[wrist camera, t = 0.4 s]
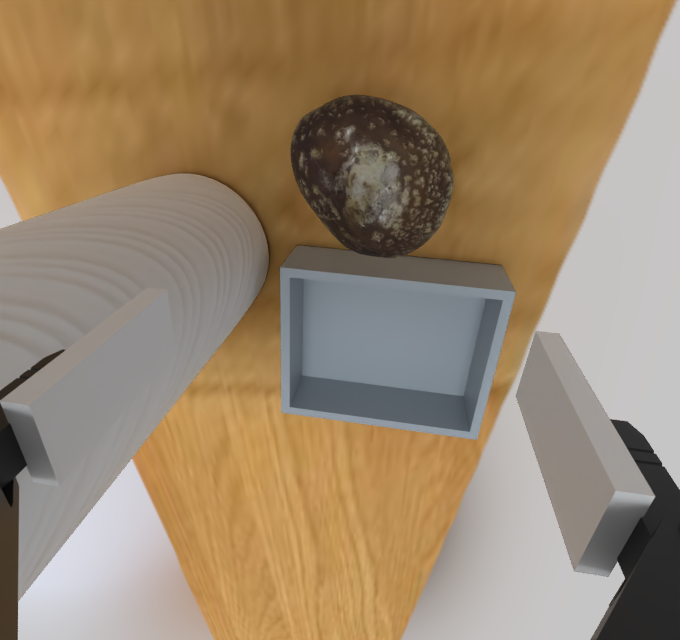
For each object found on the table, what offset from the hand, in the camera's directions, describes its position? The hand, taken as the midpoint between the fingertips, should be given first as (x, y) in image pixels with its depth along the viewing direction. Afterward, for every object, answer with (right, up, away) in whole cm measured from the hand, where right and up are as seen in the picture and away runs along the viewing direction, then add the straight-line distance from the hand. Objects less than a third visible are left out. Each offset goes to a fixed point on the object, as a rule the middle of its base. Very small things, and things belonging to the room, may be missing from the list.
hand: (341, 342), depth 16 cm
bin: (+5, 0, +27) cm, 28 cm away
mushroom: (+4, +15, +20) cm, 25 cm away
